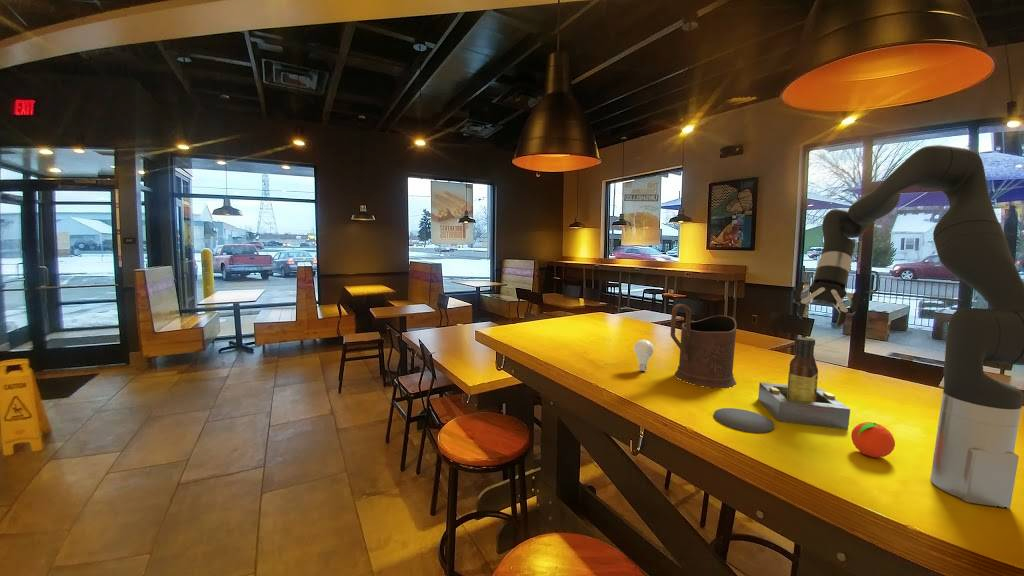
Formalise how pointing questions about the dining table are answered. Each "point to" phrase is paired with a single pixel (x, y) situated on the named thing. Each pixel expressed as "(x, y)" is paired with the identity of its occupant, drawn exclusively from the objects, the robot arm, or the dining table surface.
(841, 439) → the dining table surface
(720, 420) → the coaster
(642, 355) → the lightbulb
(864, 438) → the red tomato
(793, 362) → the sauce bottle
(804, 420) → the square ashtray
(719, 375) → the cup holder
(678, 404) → the dining table surface
